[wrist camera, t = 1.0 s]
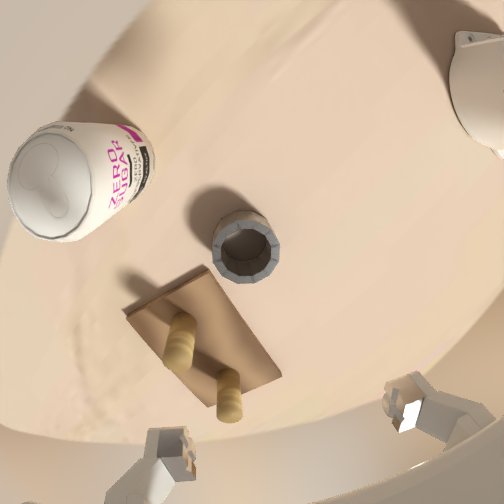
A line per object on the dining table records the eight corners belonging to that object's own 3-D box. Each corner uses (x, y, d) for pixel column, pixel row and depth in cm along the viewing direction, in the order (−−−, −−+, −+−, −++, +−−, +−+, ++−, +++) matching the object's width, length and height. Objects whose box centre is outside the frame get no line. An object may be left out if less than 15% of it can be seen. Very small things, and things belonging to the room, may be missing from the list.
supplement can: (74, 152, 29) (-14, 171, 15) (135, 110, 28) (66, 94, 14) (108, 214, 32) (38, 270, 18) (170, 176, 31) (127, 209, 17)
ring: (255, 199, 32) (259, 208, 29) (283, 249, 35) (290, 263, 31) (202, 229, 33) (199, 242, 29) (233, 277, 35) (234, 294, 32)
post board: (209, 269, 35) (204, 305, 27) (281, 371, 41) (290, 414, 33) (127, 314, 36) (109, 354, 29) (207, 402, 42) (206, 445, 35)
